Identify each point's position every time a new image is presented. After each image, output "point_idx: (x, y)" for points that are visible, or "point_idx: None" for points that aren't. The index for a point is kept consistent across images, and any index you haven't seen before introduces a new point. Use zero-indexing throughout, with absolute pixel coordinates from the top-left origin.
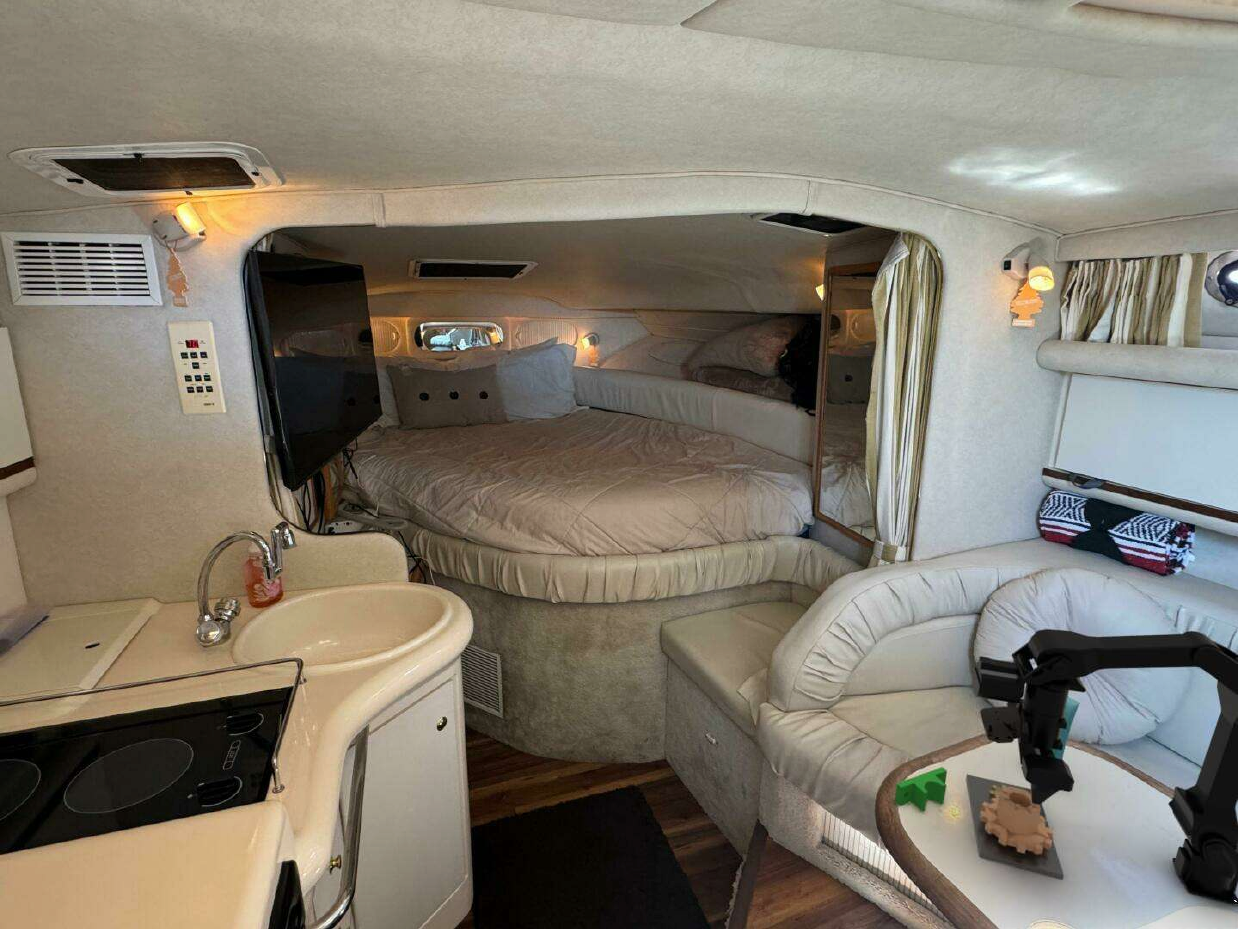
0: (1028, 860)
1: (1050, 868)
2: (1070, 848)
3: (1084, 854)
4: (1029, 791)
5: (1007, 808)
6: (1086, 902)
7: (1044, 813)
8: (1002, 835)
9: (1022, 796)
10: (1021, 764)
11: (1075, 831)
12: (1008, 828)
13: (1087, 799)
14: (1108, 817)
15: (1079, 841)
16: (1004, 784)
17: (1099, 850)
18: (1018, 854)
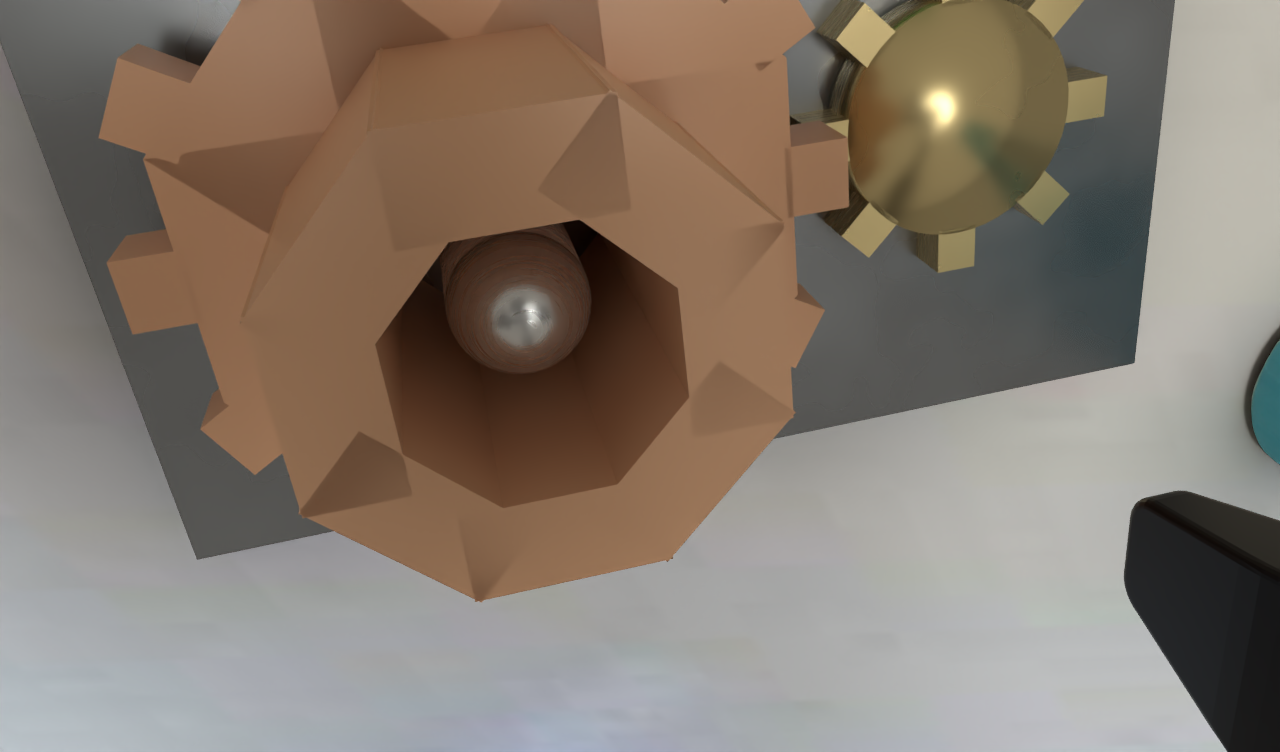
0: None
1: (203, 476)
2: None
3: (590, 633)
4: (1108, 304)
5: (320, 192)
6: (83, 662)
7: (873, 416)
8: (164, 94)
9: (676, 381)
10: (1140, 510)
11: (803, 579)
12: (306, 163)
13: None
14: (1019, 725)
15: (710, 603)
16: (1144, 97)
17: (681, 700)
18: None
